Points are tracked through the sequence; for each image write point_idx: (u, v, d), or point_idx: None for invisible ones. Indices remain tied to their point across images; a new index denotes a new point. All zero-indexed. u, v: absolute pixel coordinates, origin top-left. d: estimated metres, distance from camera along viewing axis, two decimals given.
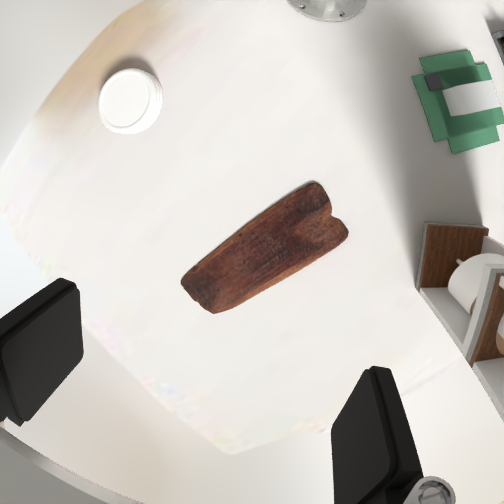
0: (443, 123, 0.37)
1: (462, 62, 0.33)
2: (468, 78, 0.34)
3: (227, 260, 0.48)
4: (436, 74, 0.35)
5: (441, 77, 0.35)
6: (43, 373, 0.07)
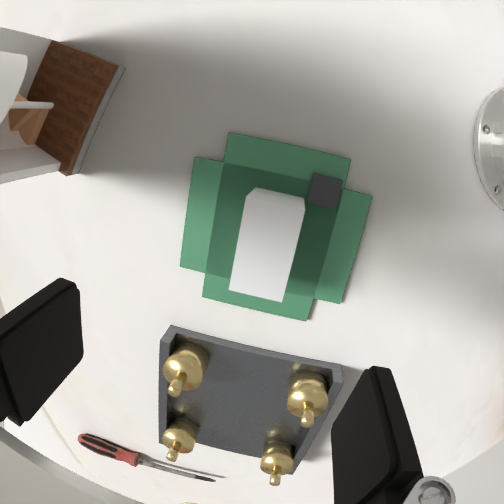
0: (250, 165, 0.25)
1: (329, 274, 0.27)
2: (299, 267, 0.28)
3: None
4: (334, 204, 0.25)
5: (324, 214, 0.26)
6: (43, 373, 0.07)
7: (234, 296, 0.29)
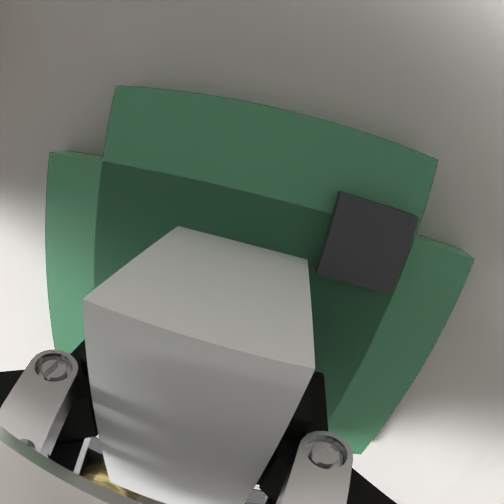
0: (164, 166, 0.09)
1: (348, 416, 0.11)
2: None
3: None
4: (389, 281, 0.09)
5: (359, 301, 0.10)
6: None
7: None
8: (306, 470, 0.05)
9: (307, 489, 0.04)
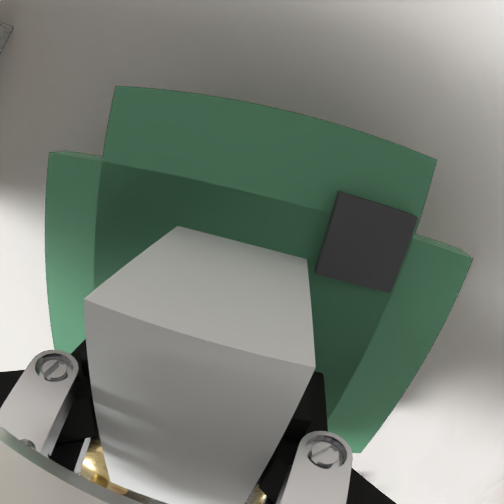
0: (163, 166, 0.09)
1: (348, 415, 0.11)
2: None
3: None
4: (388, 281, 0.09)
5: (358, 300, 0.10)
6: None
7: None
8: (306, 470, 0.05)
9: (306, 489, 0.04)
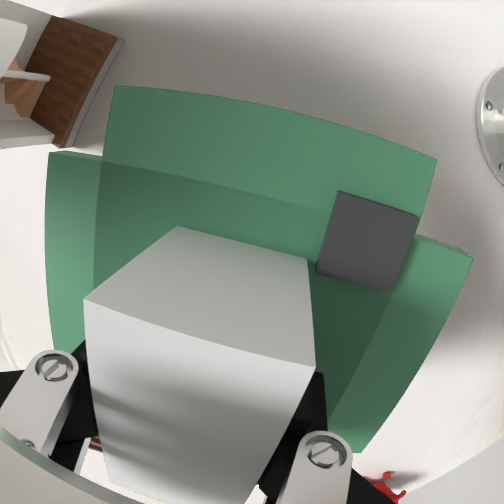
0: (163, 165, 0.09)
1: (348, 415, 0.11)
2: None
3: None
4: (388, 280, 0.09)
5: (358, 300, 0.10)
6: None
7: None
8: (305, 470, 0.05)
9: (306, 489, 0.04)
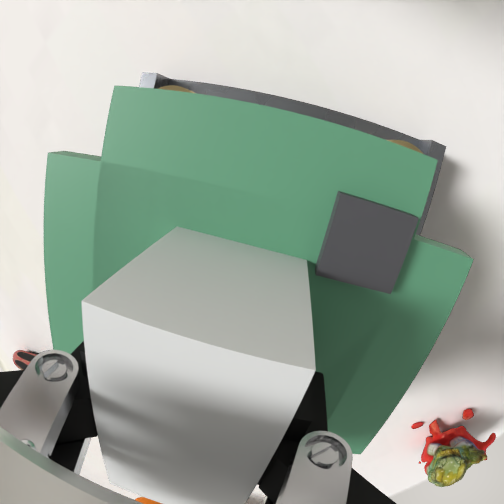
0: (163, 166, 0.09)
1: (348, 416, 0.11)
2: None
3: None
4: (388, 281, 0.09)
5: (358, 301, 0.10)
6: None
7: None
8: (306, 470, 0.05)
9: (306, 489, 0.04)
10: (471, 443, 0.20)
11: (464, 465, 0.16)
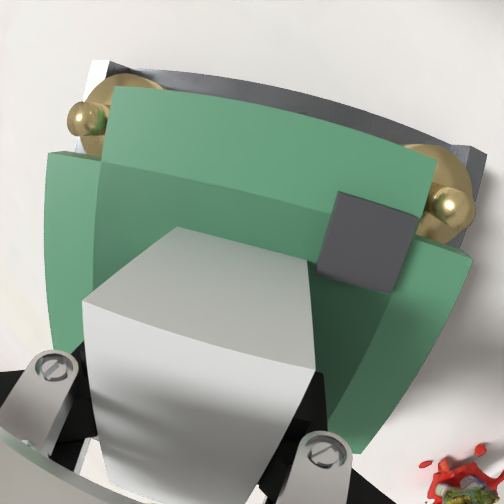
0: (163, 166, 0.09)
1: (348, 416, 0.11)
2: None
3: None
4: (388, 281, 0.09)
5: (358, 301, 0.10)
6: None
7: None
8: (305, 470, 0.05)
9: (306, 489, 0.04)
10: (483, 483, 0.16)
11: None
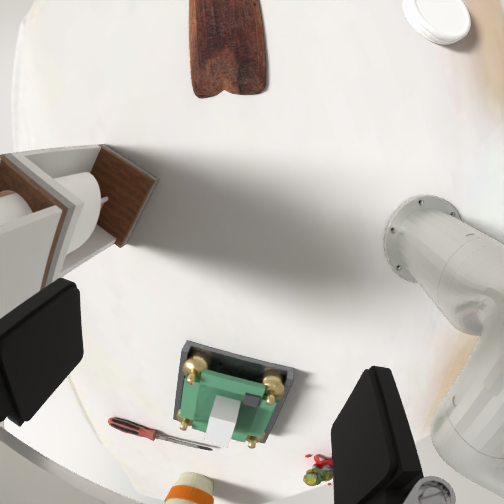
0: (213, 386, 0.47)
1: (255, 427, 0.49)
2: (239, 424, 0.49)
3: None
4: (255, 406, 0.47)
5: (251, 407, 0.47)
6: (43, 373, 0.07)
7: None
8: None
9: None
10: (331, 469, 0.52)
11: (316, 478, 0.48)
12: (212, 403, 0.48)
